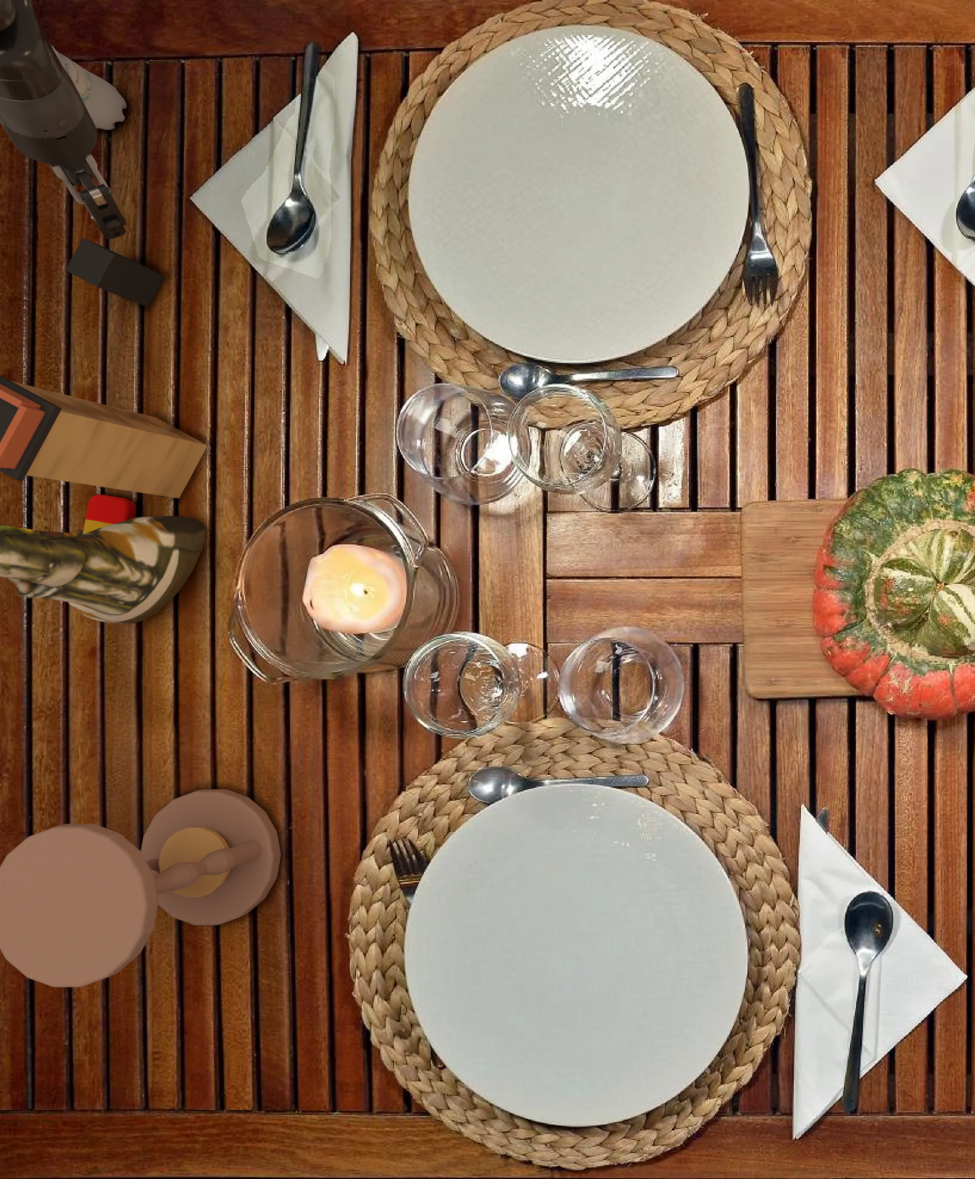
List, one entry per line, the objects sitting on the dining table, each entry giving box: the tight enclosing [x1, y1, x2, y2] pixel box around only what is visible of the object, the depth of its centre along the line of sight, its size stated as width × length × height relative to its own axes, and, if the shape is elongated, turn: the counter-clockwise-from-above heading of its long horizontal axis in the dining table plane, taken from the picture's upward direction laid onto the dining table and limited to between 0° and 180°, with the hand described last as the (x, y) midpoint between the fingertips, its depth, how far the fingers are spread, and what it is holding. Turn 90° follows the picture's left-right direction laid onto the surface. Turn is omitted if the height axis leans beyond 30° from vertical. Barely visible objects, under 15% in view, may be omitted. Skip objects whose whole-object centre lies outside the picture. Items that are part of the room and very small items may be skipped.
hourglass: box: [0, 788, 282, 988], centre depth 128 cm, size 18×18×25 cm
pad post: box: [65, 237, 165, 308], centre depth 138 cm, size 5×5×9 cm
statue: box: [0, 514, 207, 625], centre depth 124 cm, size 16×11×35 cm, turn 142°
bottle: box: [52, 45, 127, 131], centre depth 133 cm, size 7×7×20 cm
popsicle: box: [83, 493, 137, 533], centre depth 141 cm, size 6×15×2 cm, turn 170°
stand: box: [11, 380, 208, 499], centre depth 130 cm, size 8×8×25 cm
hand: (94, 205), depth 121 cm, fingers open, 8 cm apart
